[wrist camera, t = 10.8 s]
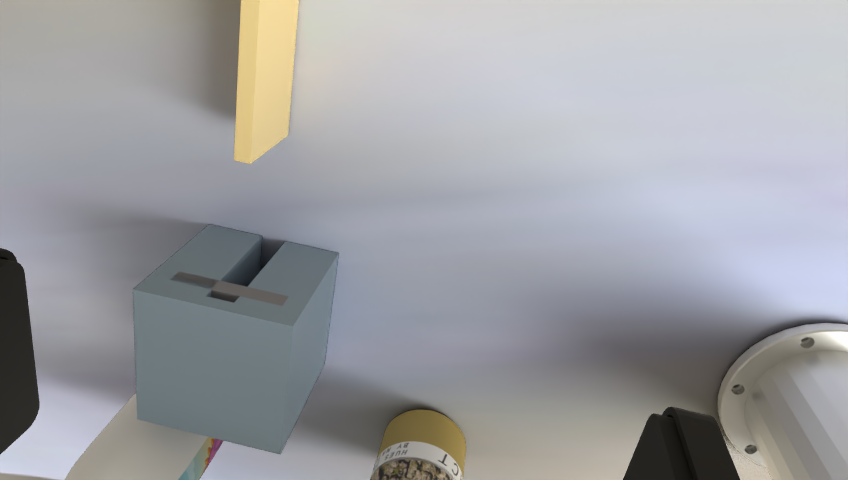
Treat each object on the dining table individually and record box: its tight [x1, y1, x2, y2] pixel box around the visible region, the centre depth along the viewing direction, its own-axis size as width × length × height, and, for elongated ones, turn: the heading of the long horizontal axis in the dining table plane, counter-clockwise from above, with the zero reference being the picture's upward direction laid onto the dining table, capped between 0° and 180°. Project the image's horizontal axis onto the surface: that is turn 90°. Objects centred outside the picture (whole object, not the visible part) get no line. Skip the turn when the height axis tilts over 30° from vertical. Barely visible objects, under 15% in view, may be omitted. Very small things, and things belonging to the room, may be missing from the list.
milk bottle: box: [65, 393, 224, 480], centre depth 44 cm, size 8×8×20 cm
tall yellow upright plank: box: [234, 0, 299, 164], centre depth 37 cm, size 1×12×6 cm, turn 170°
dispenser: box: [133, 224, 339, 454], centre depth 43 cm, size 10×10×10 cm
